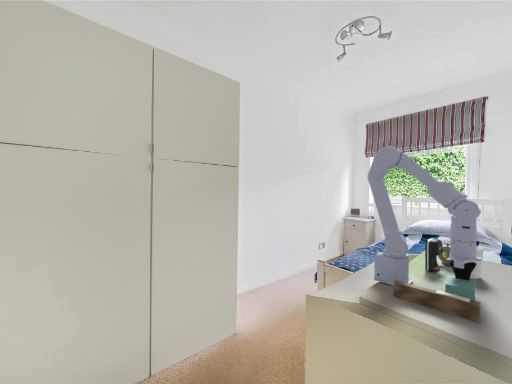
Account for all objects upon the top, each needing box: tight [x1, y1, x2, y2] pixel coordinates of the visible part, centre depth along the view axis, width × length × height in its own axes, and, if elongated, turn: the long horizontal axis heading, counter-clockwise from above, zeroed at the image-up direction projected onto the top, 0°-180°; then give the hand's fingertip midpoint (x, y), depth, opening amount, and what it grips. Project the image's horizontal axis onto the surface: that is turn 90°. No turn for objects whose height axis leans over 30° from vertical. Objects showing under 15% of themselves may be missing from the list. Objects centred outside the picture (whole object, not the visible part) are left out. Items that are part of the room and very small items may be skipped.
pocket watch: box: [437, 240, 453, 267], centre depth 92 cm, size 8×8×10 cm
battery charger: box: [424, 238, 444, 273], centre depth 87 cm, size 7×4×11 cm, turn 127°
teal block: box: [444, 276, 476, 301], centre depth 66 cm, size 6×7×4 cm
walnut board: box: [393, 280, 482, 323], centre depth 62 cm, size 18×2×4 cm, turn 42°
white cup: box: [470, 245, 484, 280], centre depth 82 cm, size 8×8×10 cm
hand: (462, 286), depth 69 cm, fingers closed
